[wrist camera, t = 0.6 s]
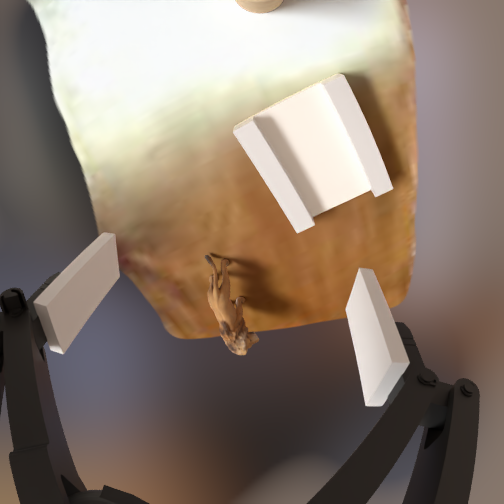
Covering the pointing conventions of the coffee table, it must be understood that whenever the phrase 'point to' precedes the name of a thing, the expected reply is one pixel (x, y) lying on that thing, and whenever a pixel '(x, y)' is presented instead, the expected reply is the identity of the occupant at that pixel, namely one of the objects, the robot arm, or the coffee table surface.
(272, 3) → the candle
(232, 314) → the lion figurine
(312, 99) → the tray
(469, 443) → the robot arm
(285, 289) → the coffee table surface
